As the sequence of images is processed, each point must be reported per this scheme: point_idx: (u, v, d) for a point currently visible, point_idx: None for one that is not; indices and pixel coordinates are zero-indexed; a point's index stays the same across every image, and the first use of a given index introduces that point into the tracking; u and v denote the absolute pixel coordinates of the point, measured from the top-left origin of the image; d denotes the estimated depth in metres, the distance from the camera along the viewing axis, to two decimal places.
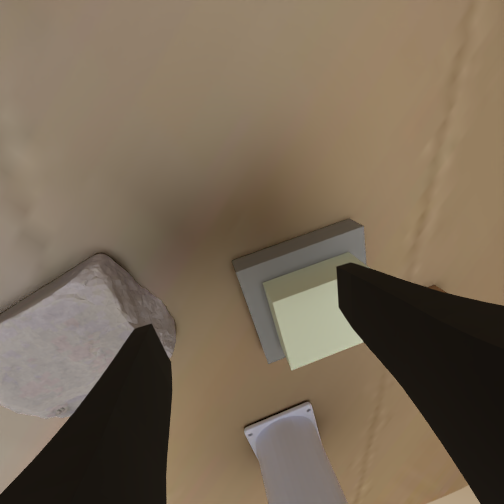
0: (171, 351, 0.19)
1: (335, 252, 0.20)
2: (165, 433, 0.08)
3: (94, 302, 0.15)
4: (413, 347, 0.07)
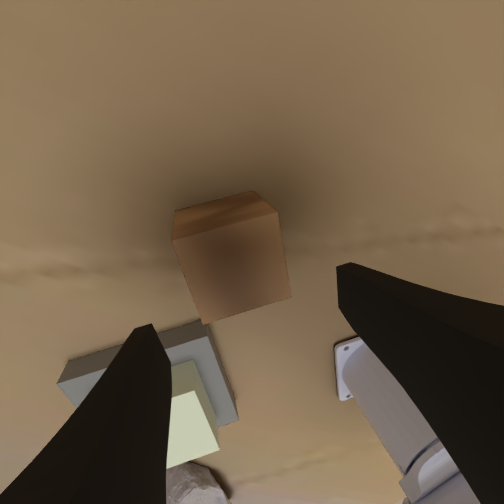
0: (188, 490, 0.24)
1: None
2: (165, 433, 0.08)
3: None
4: (413, 347, 0.07)
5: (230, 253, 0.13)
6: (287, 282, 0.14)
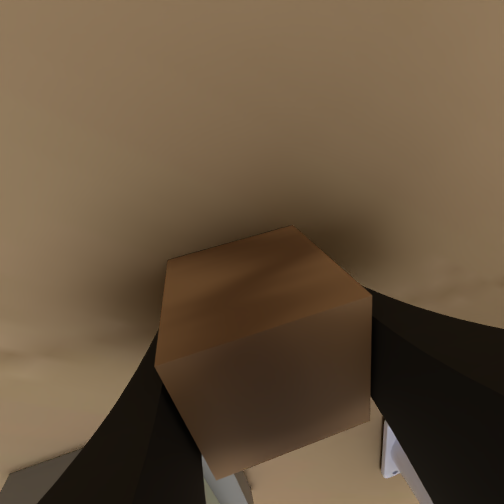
0: None
1: None
2: None
3: None
4: (378, 359, 0.07)
5: (274, 372, 0.06)
6: (367, 402, 0.08)
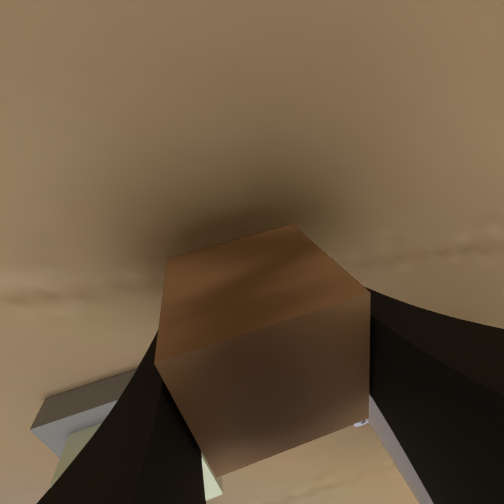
0: None
1: None
2: None
3: None
4: (378, 359, 0.07)
5: (273, 369, 0.06)
6: (366, 399, 0.08)
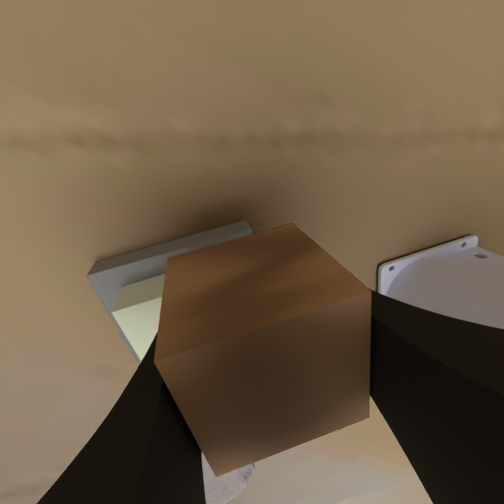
0: None
1: None
2: None
3: None
4: (378, 359, 0.07)
5: (274, 368, 0.06)
6: (367, 398, 0.08)
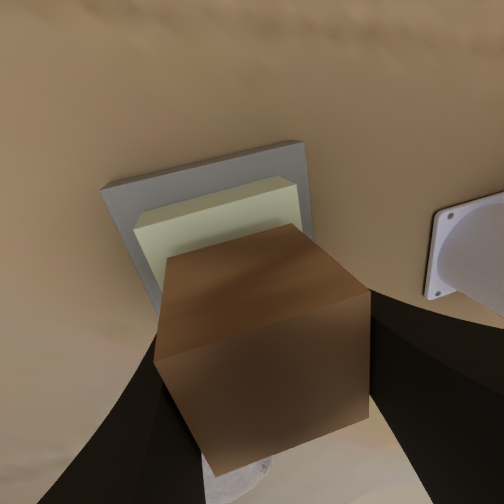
0: None
1: None
2: None
3: None
4: (378, 359, 0.07)
5: (273, 368, 0.06)
6: (366, 399, 0.08)
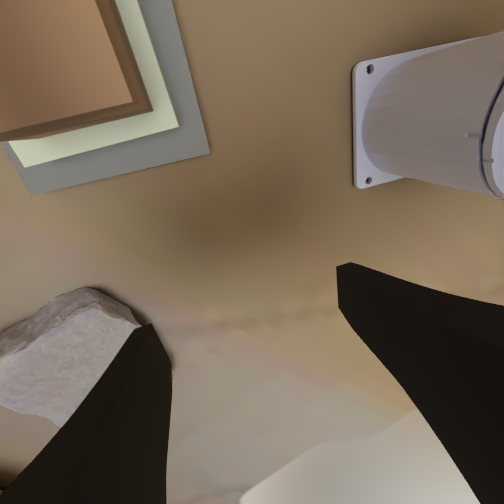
0: (85, 309, 0.17)
1: None
2: (165, 433, 0.08)
3: None
4: (413, 347, 0.07)
5: None
6: (113, 58, 0.07)
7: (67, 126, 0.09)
